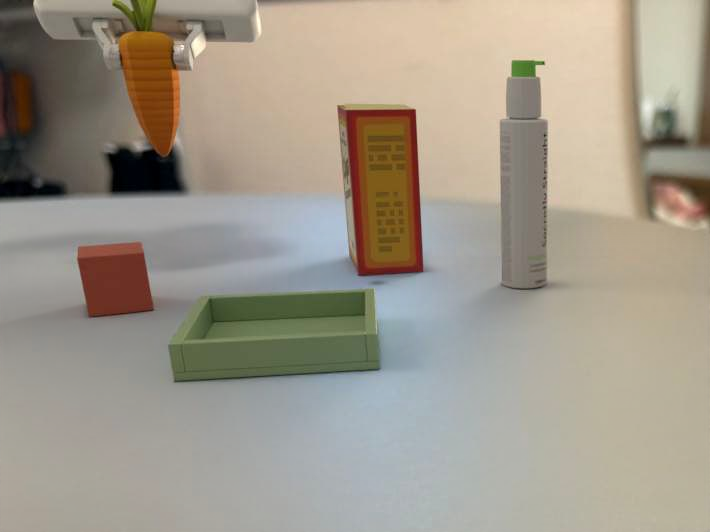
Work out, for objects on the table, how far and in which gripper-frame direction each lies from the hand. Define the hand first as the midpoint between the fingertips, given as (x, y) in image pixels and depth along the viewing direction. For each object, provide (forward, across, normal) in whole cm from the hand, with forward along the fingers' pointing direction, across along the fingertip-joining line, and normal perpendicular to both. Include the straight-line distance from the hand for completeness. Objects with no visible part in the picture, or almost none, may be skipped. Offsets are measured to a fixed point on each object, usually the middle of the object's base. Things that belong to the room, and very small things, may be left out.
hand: (149, 65), depth 80 cm
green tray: (+34, +13, -7) cm, 37 cm away
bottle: (+23, +34, +5) cm, 41 cm away
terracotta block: (+24, -2, +3) cm, 24 cm away
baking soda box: (+15, +21, +12) cm, 29 cm away
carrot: (+6, 0, +6) cm, 9 cm away
